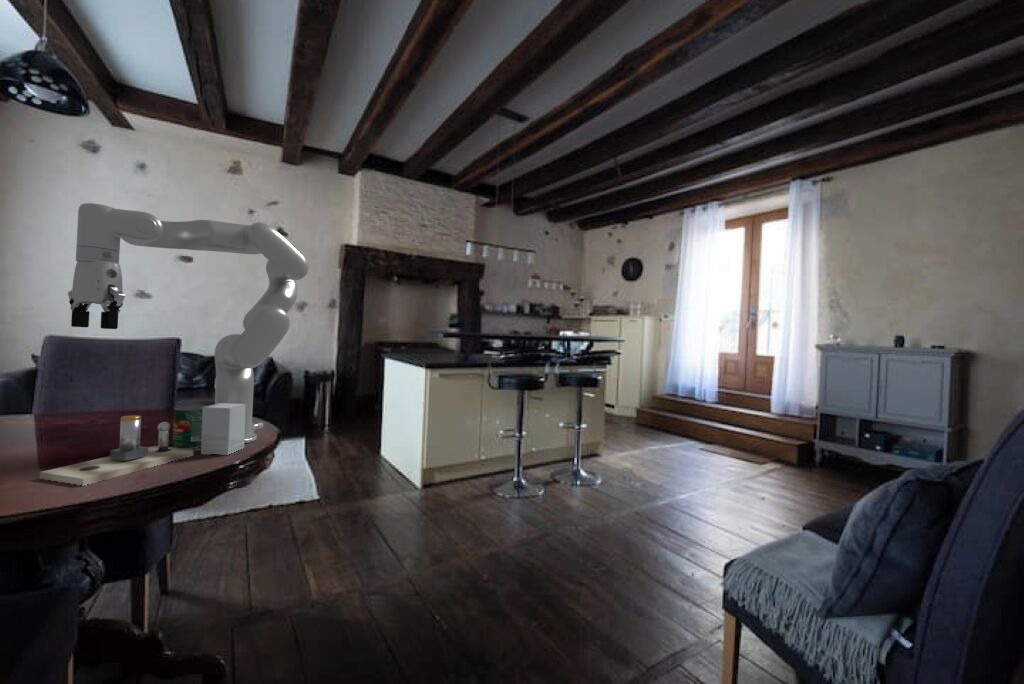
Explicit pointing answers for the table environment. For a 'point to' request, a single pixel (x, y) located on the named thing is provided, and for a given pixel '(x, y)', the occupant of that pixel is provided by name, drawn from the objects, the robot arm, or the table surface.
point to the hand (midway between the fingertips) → (94, 327)
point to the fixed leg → (163, 436)
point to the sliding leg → (129, 440)
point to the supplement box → (223, 428)
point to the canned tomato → (187, 426)
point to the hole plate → (112, 466)
